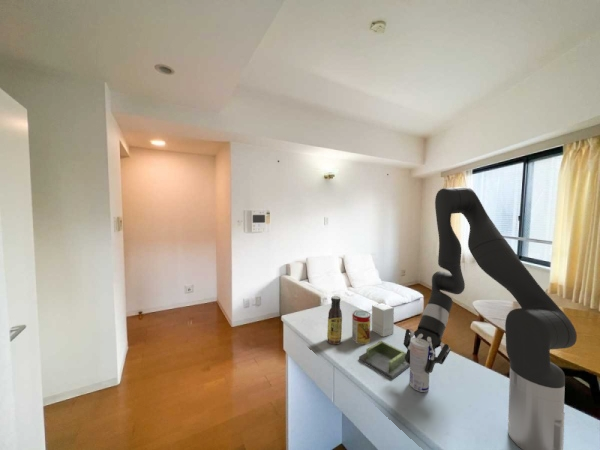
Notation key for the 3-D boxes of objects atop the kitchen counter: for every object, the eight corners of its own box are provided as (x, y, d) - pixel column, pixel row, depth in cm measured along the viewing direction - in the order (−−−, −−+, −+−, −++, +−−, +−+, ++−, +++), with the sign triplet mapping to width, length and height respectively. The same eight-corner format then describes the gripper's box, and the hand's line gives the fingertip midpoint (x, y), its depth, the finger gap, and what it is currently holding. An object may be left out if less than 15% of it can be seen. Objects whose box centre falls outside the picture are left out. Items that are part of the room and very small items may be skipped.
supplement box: (394, 333, 109) (394, 307, 109) (382, 337, 106) (383, 310, 105) (382, 327, 116) (382, 302, 115) (371, 330, 112) (371, 305, 112)
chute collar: (412, 364, 86) (412, 353, 86) (392, 379, 78) (392, 367, 78) (379, 347, 97) (379, 337, 97) (359, 359, 89) (359, 349, 89)
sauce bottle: (330, 346, 98) (330, 300, 97) (325, 338, 104) (325, 295, 103) (344, 344, 100) (344, 299, 99) (338, 337, 106) (338, 294, 105)
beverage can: (431, 394, 71) (432, 347, 71) (412, 391, 72) (413, 345, 72) (425, 382, 77) (426, 338, 76) (407, 379, 78) (408, 336, 77)
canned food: (373, 342, 102) (374, 315, 101) (359, 345, 99) (359, 318, 98) (362, 333, 109) (363, 308, 109) (348, 336, 106) (349, 311, 106)
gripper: (409, 308, 84) (391, 351, 77) (454, 322, 73) (437, 374, 66) (416, 319, 88) (399, 361, 81) (460, 334, 76) (444, 384, 69)
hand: (416, 367), depth 73 cm, fingers closed on beverage can, 5 cm apart
